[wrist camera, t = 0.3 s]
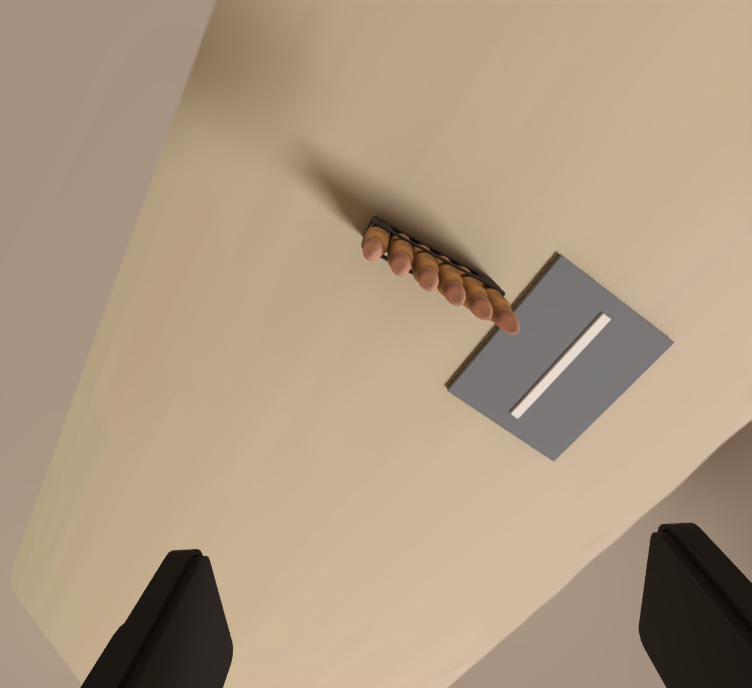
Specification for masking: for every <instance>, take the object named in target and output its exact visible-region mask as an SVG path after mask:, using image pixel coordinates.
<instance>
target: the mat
mask: <svg viewBox="0 0 752 688" xmlns="http://www.w3.org/2000/svg"><path fill="white" fill-rule="evenodd" d="M512 311H513V313H514V314H515V315H516V317H517V319H518V322H519V327H520V328H519V332H518V333H517V334H514V335H512V334H508V333H506V332H504V331H503V330H501V329H500V328H499V327H498V328H497V329H496V330H495V332H494V333H493V334H492V335H491V336H490V338H489V339H488V340H487V341H486V342H485V344H484V345H483V346H482V347H481V348H480V349H479V351H478V352H477V353H476V354H475V355H474V357H473V358H472V359H471V360H470V361H469V363H468V364H467V365H466V366H465V367H464V368H463V370H462V371H461V372H460V373H459V374H458V376H457V377H456V378H455V379H454V380H453V382H452V383H451V384H450V385H449V386H448V388H447V389H448V391H449V392H450V393H452V394H453V395H455V396H456V397H458V398H459V399H461V400H462V401H464V402H465V403H467V404H468V405H470V406H471V407H473V408H474V409H476V410H477V411H479V412H480V413H482V414H483V415H485V416H486V417H488V418H489V419H491V420H492V421H494V422H495V423H497V424H498V425H500V426H501V427H503V428H504V429H506V430H507V431H509V432H510V433H512V434H513V435H515V436H516V437H518V438H519V439H521V440H522V441H524V442H525V443H527V444H528V445H530V446H531V447H533V448H534V449H536V450H537V451H539V452H540V453H542V454H543V455H545V456H546V457H548V458H549V459H551V460H552V461H555V460H556V459H557V458H558V457H559V456H560V455H561V454H562V453H563V452H564V451H565V450H566V449H567V448H568V447H569V446H570V445H571V444H572V443H573V442H574V441H575V440H576V439H577V438H578V437H579V436H580V435H581V434H582V433H583V432H584V431H585V430H586V429H587V428H588V427H589V426H590V425H591V424H592V423H593V422H594V421H595V420H596V419H597V418H598V417H599V416H600V415H601V414H602V413H603V412H604V411H605V410H606V409H607V408H608V407H609V406H610V405H612V404H613V403H614V402H615V401H616V400H617V399H618V398H619V397H620V396H621V395H622V394H623V393H624V392H625V391H626V390H627V389H628V388H629V387H630V386H631V385H632V384H633V383H634V382H635V381H636V380H637V379H638V378H639V377H640V376H641V375H642V374H643V373H644V372H645V371H646V370H647V369H648V368H649V367H650V366H651V365H652V364H653V363H654V362H655V361H656V360H657V359H658V358H659V357H660V356H661V355H662V354H663V353H664V352H665V351H666V350H667V349H668V348H669V347H670V346H671V345H672V344H673V343H674V342H673V341H672V340H671V339H669V338H668V337H667V336H666V335H664V334H663V333H662V332H660V331H659V330H658V329H656V328H655V327H654V326H652V325H651V324H650V323H649V322H647V321H646V320H645V319H643V318H642V317H641V316H639V315H638V314H637V313H636V312H634V311H633V310H632V309H630V308H629V307H628V306H626V305H625V304H624V303H623V302H621V301H620V300H619V299H617V298H616V297H615V296H613V295H612V294H611V293H610V292H608V291H607V290H606V289H604V288H603V287H602V286H600V285H599V284H598V283H597V282H595V281H594V280H593V279H591V278H590V277H589V276H587V275H586V274H585V273H584V272H582V271H581V270H580V269H578V268H577V267H576V266H574V265H573V264H572V263H571V262H569V261H568V260H567V259H565V258H564V257H563V256H561V255H558V257H557V258H556V259H555V260H554V261H553V263H552V264H551V265H550V266H549V267H548V269H547V270H546V271H545V272H544V273H543V275H542V276H541V277H540V278H539V279H538V280H537V282H536V283H535V284H534V285H533V286H532V288H531V289H530V290H529V291H528V292H527V294H526V295H525V296H524V297H523V298H522V299H521V301H520V302H519V303H518V304H517V305H516V307H515V308H514V309H513V310H512Z"/></svg>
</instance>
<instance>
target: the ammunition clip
mask: <svg viewBox="0 0 752 688" xmlns="http://www.w3.org/2000/svg"><path fill="white" fill-rule="evenodd" d="M361 247H362V249H363V255H364V257H365V258H366V259H367V260H369V261H375V260H377V259H379V258H382V259H384V260H386V261H388V263H389V265H390V267H391V269H392V271H393V272H394V273H395V274H396V275H398V276H404V275H406V274H407V273H408V272H409V273H410V274H412V275H413V276H414V278H415V280H416V281H417V282H419V284H420V286H421V287H422V288H423V289H424V290H426V291H433V290H435V289H436V288H438V291H439V292H440V293H441V294H442V295H443V296H445V298H446V299H447V300H448V301H449V302H450V303H451V304H453V305H455V306H461V305H462V304H463V305H464V306H465V307H466V308H468V309H470V311H471V312H472V313H473V314H474V315H475V316H476V317H478V318H479V319H482V320H491V321H493V322H494V323H495V324H496V325H497V326H498V327H499V328H500V329H501V330H503V331H504V332H506V333H508V334H512V335H514V334H517V333H518V332H519V328H520V327H519V322H518V319H517V317H516V315H515V314H514V313H513V311H512V309H511V306H510V304H509V302H508V301H507V300H506V299H505V298H504V295H505V292H504V291H503V290H502V289H501V288H500V287H499V286H498V285H497V284H496V283H495V282H494V281H493V280H492V279H491V278H489V277H487V276H485V275H483V274H482V273H480V272H478V271H476V270H474V269H472V268H470V267H469V266H467V265H465V264H463V263H461V262H459V261H457V260H456V259H454V258H452V257H450V256H448V255H446V254H445V253H443V252H441V251H439V250H437V249H435V248H433V247H432V246H430V245H428V244H426V243H424V242H422V241H421V240H419V239H417V238H415V237H413V236H411V235H409V234H408V233H406V232H404V231H402V230H400V229H398V228H396V227H395V226H393V225H391V224H389V223H387V222H385V221H384V220H382V219H380V218H378V217H376V216H373V218H372V220H371V222H370V224H369V226H368V228H367V230H366V232H365V234H364V236H363V240H362V246H361ZM385 252H387V253H388V257H387V256H385V255H384V253H385ZM410 268H412V270H411V269H410Z"/></svg>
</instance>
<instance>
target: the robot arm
mask: <svg viewBox="0 0 752 688" xmlns="http://www.w3.org/2000/svg"><path fill="white" fill-rule="evenodd" d="M639 635H640V638H641V641H642V644H643V646H644V648H645V650H646V652H647V654H648V656H649V657H650V659H651V661H652V663H653V664H654V666H655V668H656V670H657V672H658V673H659V675H660V677H661V679H662V680H663V682H664V684H665V686H666V688H752V583H751V582H750V581H749V580H748V579H747V578H746V576H745V575H744V574H743V573H742V572H741V571H740V570H739V569H738V568H737V567H736V566H735V565H734V564H733V563H732V562H731V560H730V559H729V558H728V557H727V556H726V555H725V554H724V553H723V552H722V551H721V550H720V549H719V548H718V547H717V546H716V545H715V543H713V541H712V540H711V539H710V538H709V537H708V536H707V535H706V534H705V533H704V532H703V531H702V530H701V528H699V527H698V526H697V525H696V524H694V523H676V524H662V525H661V526H659V529H658V532H654V533H652V535H651V539H650V547H649V554H648V561H647V569H646V576H645V583H644V592H643V599H642V606H641V614H640V621H639ZM232 656H233V644H232V640H231V636H230V632H229V629H228V625H227V621H226V618H225V614H224V610H223V607H222V603H221V599H220V596H219V592H218V588H217V585H216V581H215V578H214V574H213V570H212V567H211V563H210V560H209V558H208V557H207V556H203V555H202V553H201V551H200V550H199V549H191V550H172V551H171V552H169V553H168V554H167V556H166V557H165V559H164V560H163V562H162V563H161V565H160V567H159V568H158V570H157V572H156V573H155V575H154V576H153V578H152V580H151V581H150V583H149V584H148V586H147V588H146V589H145V591H144V592H143V594H142V596H141V597H140V599H139V601H138V602H137V604H136V605H135V607H134V609H133V610H132V612H131V613H130V615H129V617H128V618H127V620H126V621H125V623H124V624H123V625H122V626H120V627H119V629H118V630H117V631H116V632H115V634H114V635H113V637H112V638H111V640H110V641H109V643H108V645H107V646H106V648H105V649H104V651H103V653H102V654H101V656H100V657H99V659H98V661H97V662H96V664H95V665H94V667H93V668H92V670H91V672H90V673H89V675H88V676H87V678H86V680H85V681H84V683H83V684H82V686H81V688H223V686H224V683H225V680H226V677H227V674H228V671H229V668H230V665H231V661H232Z"/></svg>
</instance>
